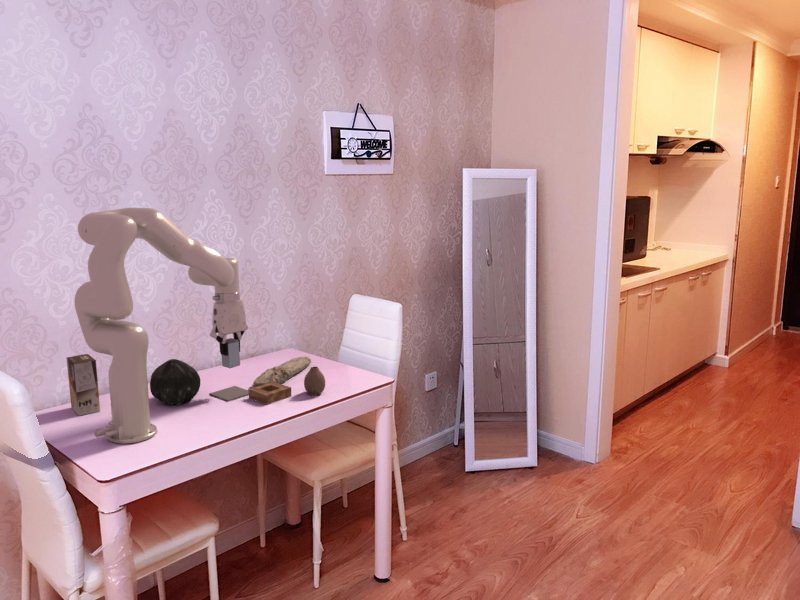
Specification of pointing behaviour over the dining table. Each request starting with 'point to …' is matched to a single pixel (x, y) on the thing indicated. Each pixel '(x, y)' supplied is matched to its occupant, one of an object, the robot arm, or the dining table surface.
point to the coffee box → (83, 384)
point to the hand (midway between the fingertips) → (230, 352)
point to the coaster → (230, 393)
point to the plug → (231, 354)
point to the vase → (314, 381)
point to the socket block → (269, 392)
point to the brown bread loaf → (282, 371)
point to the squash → (174, 382)
